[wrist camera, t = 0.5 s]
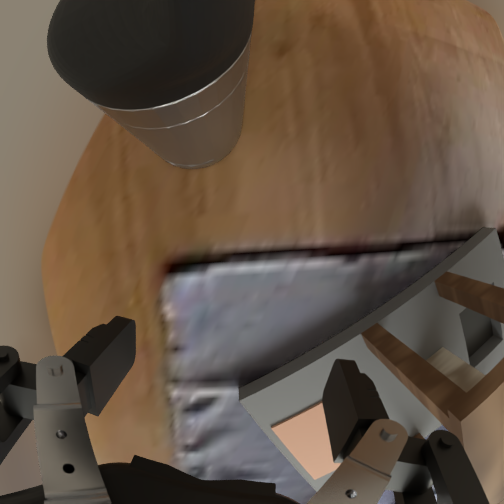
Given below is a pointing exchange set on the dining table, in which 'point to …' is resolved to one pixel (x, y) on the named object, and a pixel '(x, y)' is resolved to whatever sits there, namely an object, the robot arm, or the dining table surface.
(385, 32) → the dining table surface
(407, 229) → the dining table surface
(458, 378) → the block
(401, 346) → the shelter
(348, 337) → the slotted grey base plate
